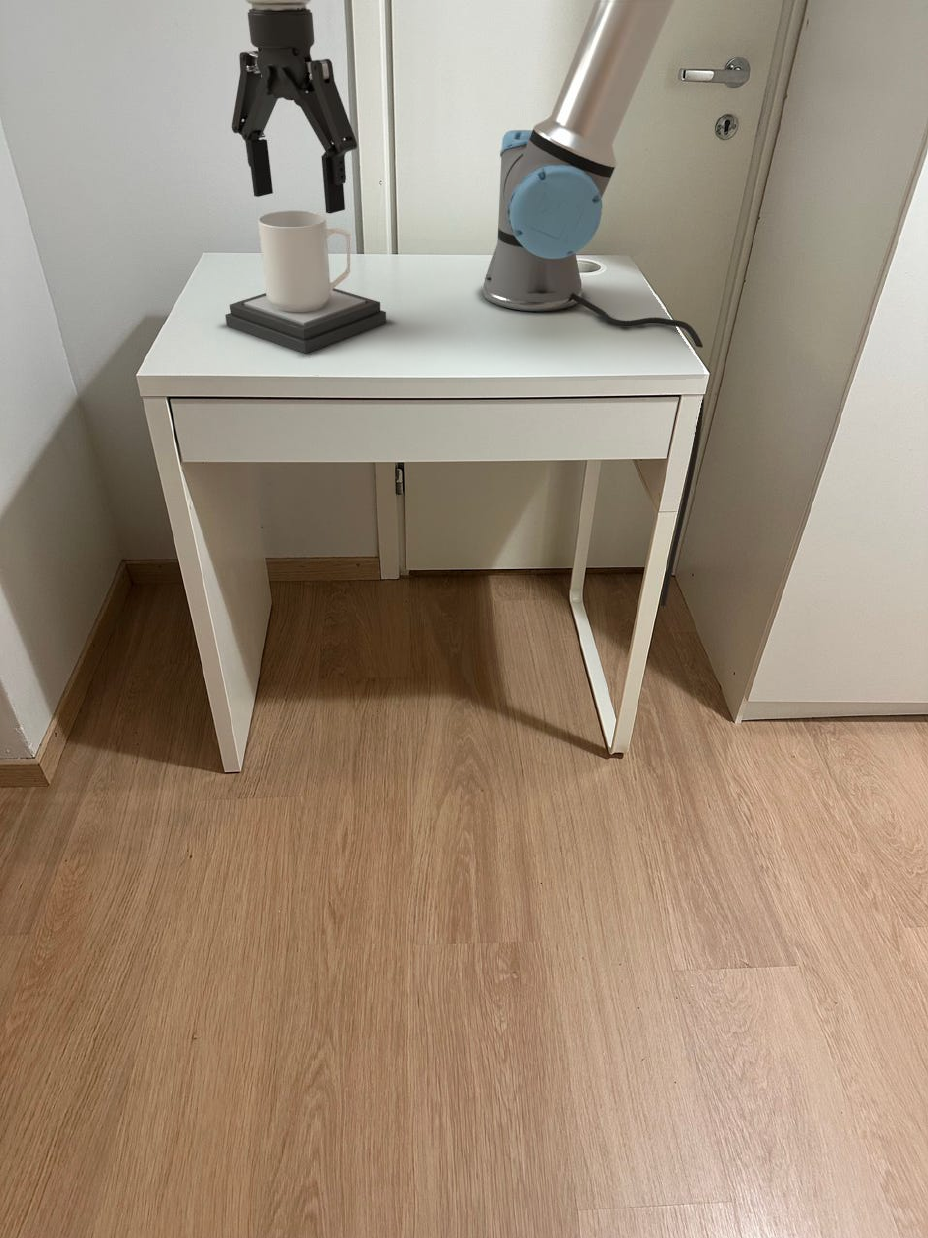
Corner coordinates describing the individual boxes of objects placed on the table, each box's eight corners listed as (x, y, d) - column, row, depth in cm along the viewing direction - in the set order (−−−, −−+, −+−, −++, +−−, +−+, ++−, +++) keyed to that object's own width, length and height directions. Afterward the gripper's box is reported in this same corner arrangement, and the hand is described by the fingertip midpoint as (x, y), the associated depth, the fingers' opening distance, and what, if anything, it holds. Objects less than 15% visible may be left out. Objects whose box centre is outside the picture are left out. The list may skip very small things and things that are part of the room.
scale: (386, 322, 127) (385, 301, 125) (305, 354, 117) (303, 331, 115) (308, 298, 135) (306, 277, 133) (226, 325, 125) (223, 304, 123)
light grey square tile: (366, 310, 125) (365, 300, 125) (304, 332, 118) (304, 322, 117) (307, 291, 131) (306, 282, 130) (245, 312, 124) (243, 302, 123)
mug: (265, 314, 119) (255, 227, 112) (269, 293, 126) (260, 210, 119) (354, 313, 120) (349, 227, 113) (353, 292, 127) (349, 210, 120)
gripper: (380, 10, 99) (388, 212, 112) (233, -1, 111) (256, 183, 124) (332, 14, 94) (347, 224, 107) (185, 2, 106) (214, 192, 119)
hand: (298, 202), depth 116 cm, fingers open, 13 cm apart
